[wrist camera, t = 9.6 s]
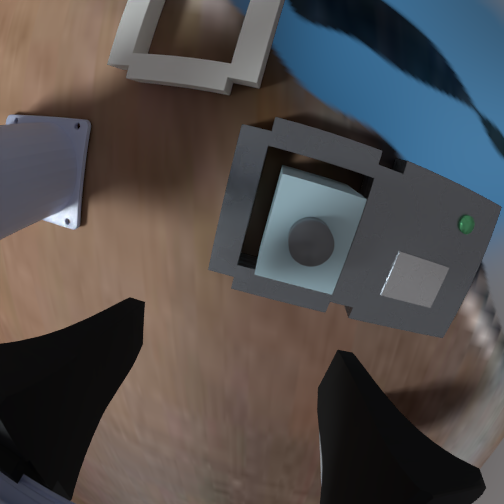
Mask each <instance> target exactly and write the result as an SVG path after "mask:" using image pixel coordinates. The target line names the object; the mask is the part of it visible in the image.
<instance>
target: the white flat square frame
mask: <svg viewBox="0 0 504 504" xmlns="http://www.w3.org/2000/svg"><path fill="white" fill-rule="evenodd" d="M284 1H285V0H250V4H249V7H248V9H247V13H246V16H245V19H244V22H243V25H242V29H241V32H240V35H239V38H238V42H237V45H236V49H235V52H234V55H233V59H232V62H231V64H230V63H225V62H218V61H212V60H205V59H197V58H189V57H180V56H170V55H158V54H148V52H149V48H150V45H151V42H152V38H153V35H154V32H155V29H156V26H157V23H158V20H159V17H160V14H161V11H162V9H163V6H164V3H165V0H128V2H127V5H126V7H125V10H124V13H123V16H122V18H121V21H120V24H119V27H118V30H117V33H116V37H115V40H114V43H113V46H112V50H111V53H110V57H109V60H108V64H107V65H110V66H113V67H116V68H119V69H122V70H128V72H127V75H126V78H128V79H131V80H134V81H137V82H140V83H151V84H160V85H168V86H176V87H183V88H190V89H196V90H202V91H208V92H214V93H219V94H225V95H230V93H231V89H232V86H233V83H235V84H240V85H245V86H249V87H254V88H259V89H260V85H261V82H262V78H263V74H264V71H265V67H266V63H267V60H268V56H269V53H270V49H271V46H272V42H273V39H274V35H275V32H276V28H277V25H278V21H279V18H280V15H281V11H282V8H283V5H284Z"/></svg>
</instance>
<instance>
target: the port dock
mask: <svg viewBox="0 0 504 504" xmlns="http://www.w3.org/2000/svg"><path fill="white" fill-rule="evenodd" d="M269 146H271V147H275V148H279V149H283V150H286V151H290V152H293V153H297V154H300V155H304V156H307V157H311V158H314V159H317V160H321V161H324V162H327V163H330V164H334V165H337V166H340V167H343V168H346V169H349V170H352V171H355V172H358V173H361V174H364V175H365V176H364V180H363V183H362V186H361V189H360V192H359V194H360V195H362V196H363V197H364V198H366V199H367V201H366V204H365V207H364V210H363V213H362V216H361V218H360V221H359V224H358V227H357V230H356V233H355V236H354V238H353V241H352V244H351V247H350V249H349V252H348V255H347V258H346V260H345V263H344V266H343V268H342V271H341V273H340V276H339V278H338V281H337V284H336V286H335V289H334V291H333V294H332V295H331V294H327V293H323V292H319V291H315V290H311V289H308V288H304V287H300V286H296V285H292V284H288V283H284V282H281V281H277V280H273V279H269V278H265V277H262V276H258V275H254V274H255V269H256V264H257V259H258V257H255V256H252V255H248V254H244V253H241V252H242V249H243V245H244V241H245V237H246V233H247V229H248V225H249V221H250V217H251V214H252V210H253V206H254V202H255V198H256V194H257V190H258V187H259V183H260V179H261V175H262V171H263V168H264V164H265V160H266V156H267V152H268V149H269ZM381 154H382V151H381V150H379V149H376V148H373V147H371V146H368V145H365V144H362V143H360V142H357V141H354V140H351V139H348V138H345V137H342V136H339V135H336V134H333V133H330V132H327V131H323V130H320V129H317V128H314V127H310V126H307V125H303V124H300V123H296V122H293V121H289V120H285V119H281V118H278V117H275V121H274V125H273V128H272V131H269V130H265V129H261V128H257V127H253V126H248V125H244V124H242V126H241V130H240V134H239V138H238V142H237V146H236V150H235V154H234V158H233V162H232V166H231V170H230V175H229V179H228V183H227V187H226V191H225V196H224V200H223V204H222V209H221V213H220V218H219V222H218V227H217V231H216V236H215V240H214V245H213V249H212V254H211V259H210V263H209V268H208V270H211V271H215V272H218V273H222V274H225V275H229V276H233V277H234V279H233V283H232V287H231V288H232V289H235V290H239V291H243V292H247V293H250V294H254V295H258V296H262V297H266V298H269V299H273V300H277V301H281V302H285V303H289V304H293V305H297V306H301V307H305V308H309V309H313V310H317V311H321V312H326V310H327V307H328V305H329V303H330V302H333V303H337V304H341V305H345V309H346V312H347V315H348V318H351V319H355V320H360V321H364V322H369V323H373V324H378V325H382V326H387V327H391V328H396V329H401V330H406V331H410V332H415V333H420V334H425V335H430V336H435V337H440V338H443V337H444V335H445V333H446V331H447V330H448V328H449V326H450V324H451V322H452V321H453V319H454V317H455V315H456V313H457V311H458V309H459V308H460V306H461V304H462V302H463V300H464V298H465V296H466V294H467V292H468V290H469V288H470V285H471V283H472V281H473V279H474V277H475V275H476V272H477V270H478V268H479V266H480V263H481V261H482V259H483V256H484V254H485V251H486V249H487V246H488V244H489V241H490V238H491V236H492V233H493V231H494V228H495V225H496V222H497V220H498V217H499V214H500V211H501V206H499V205H497V204H496V203H494V202H492V201H490V200H488V199H487V198H485V197H483V196H481V195H479V194H477V193H475V192H473V191H471V190H470V189H468V188H465V187H464V186H462V185H460V184H458V183H455V182H453V181H451V180H449V179H447V178H445V177H443V176H441V175H439V174H436V173H434V172H432V171H430V170H428V169H425V168H423V167H421V166H418V165H416V164H414V163H411V162H409V161H406V160H401V159H397V158H395V161H394V165H393V168H392V169H389V168H386V167H384V166H381V165H379V161H380V158H381Z"/></svg>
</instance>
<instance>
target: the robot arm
mask: <svg viewBox="0 0 504 504" xmlns="http://www.w3.org/2000/svg"><path fill="white" fill-rule="evenodd" d="M78 124H80V128H79V129H78ZM90 130H91V123H90V122H89V120H84V119H74V118H63V117H50V116H35V115H9V116H8V117H7V120H6V125H0V240H1V239H3V238H5V237H7V236H9V235H11V234H13V233H15V232H17V231H19V230H21V229H23V228H25V227H27V226H29V225H32V224H34V223H36V222H38V221H40V220H44V221H48V222H51V223H54V224H57V225H60V226H63V227H66V228H70V229H73V230H75V229H77V228H79V226H80V219H81V203H82V191H83V181H84V172H85V163H86V156H87V149H88V142H89V136H90ZM68 219H69V220H70V223H69V222H68ZM144 307H145V302H143V301H140V300H137V299H134V298H128V299H125V300H123V301H121V302H119V303H117V304H115V305H114V306H112V307H110V308H108V309H106V310H104V311H102V312H100V313H98V314H96V315H94V316H92V317H89V318H87V319H85V320H83V321H80V322H78V323H76V324H73V325H71V326H69V327H66V328H64V329H61V330H58V331H55V332H52V333H49V334H46V335H43V336H39V337H35V338H30V339H26V340H21V341H17V342H10V343H3V344H0V504H75V503H73V502H71V501H70V500H72V496H73V492H74V489H75V485H76V482H77V478H78V475H79V472H80V469H81V466H82V463H83V461H84V458H85V455H86V452H87V450H88V447H89V445H90V442H91V440H92V437H93V435H94V433H95V430H96V428H97V426H98V424H99V421H100V419H101V417H102V415H103V413H104V411H105V409H106V408H107V406H108V404H109V403H110V401H111V400H112V398H113V396H114V395H115V393H116V392H117V390H118V388H119V387H120V385H121V384H122V382H123V381H124V379H125V377H126V376H127V374H128V373H129V371H130V370H131V368H132V366H133V364H134V362H135V360H136V358H137V356H138V354H139V352H140V349H141V347H142V345H143V325H144ZM317 412H318V423H319V433H320V443H321V453H322V486H321V498H320V504H472V503H473V502H474V501H476V500H477V498H479V497H480V496H481V495H482V494H483V492H484V490H485V489H486V486H485V483H484V480H483V478H482V475H481V472H480V469H479V468H477V467H475V466H473V465H471V464H469V463H467V462H465V461H463V460H461V459H459V458H457V457H455V456H454V455H452V454H451V453H449V452H447V451H446V450H444V449H443V448H441V447H440V446H438V445H437V444H436V443H434V442H433V441H432V440H430V439H429V438H428V437H427V436H425V435H424V434H423V433H422V432H421V431H419V430H418V429H417V428H416V427H415V426H414V425H413V424H412V423H411V422H410V421H409V420H408V419H407V418H406V417H404V415H403V414H402V413H401V412H400V411H399V410H398V409H397V408H396V407H395V406H394V405H393V403H392V402H391V401H390V400H389V399H388V398H387V396H386V395H385V394H384V393H383V391H382V390H381V389H380V388H379V386H378V385H377V384H376V383H375V381H374V380H373V379H372V377H371V376H370V375H369V373H368V372H367V371H366V369H365V368H364V367H363V365H362V364H361V363H360V361H359V360H358V359H357V357H356V356H355V355H354V354H353V353H352V352H346V351H341V350H337V352H336V354H335V356H334V358H333V360H332V362H331V364H330V366H329V368H328V370H327V372H326V374H325V376H324V378H323V380H322V381H321V383H320V385H319V387H318V406H317Z"/></svg>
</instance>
